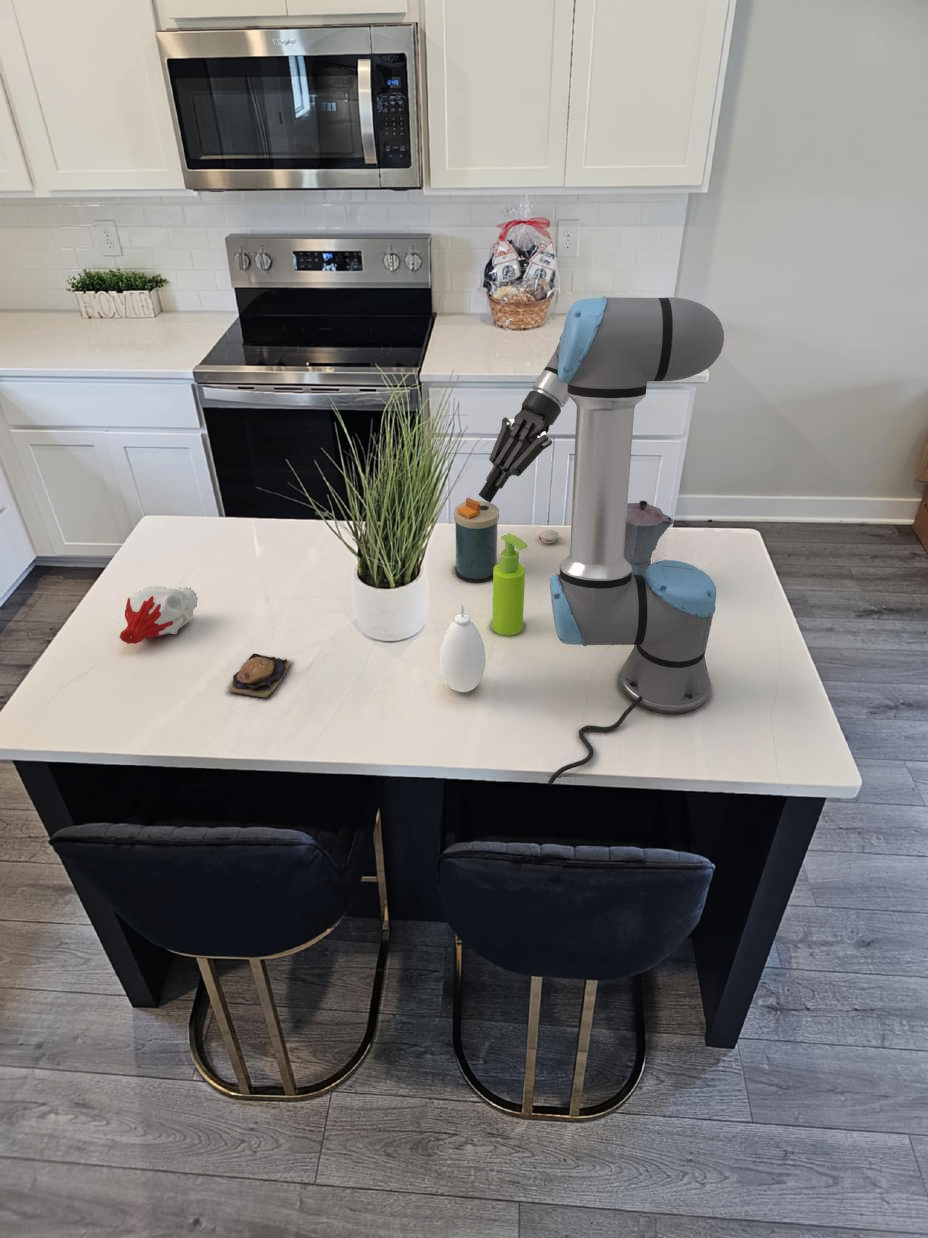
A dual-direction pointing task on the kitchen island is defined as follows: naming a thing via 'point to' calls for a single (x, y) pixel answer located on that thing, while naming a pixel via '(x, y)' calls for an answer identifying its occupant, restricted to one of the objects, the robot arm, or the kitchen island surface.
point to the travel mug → (476, 543)
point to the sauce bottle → (462, 654)
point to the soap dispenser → (509, 588)
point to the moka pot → (643, 534)
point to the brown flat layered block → (259, 676)
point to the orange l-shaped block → (470, 508)
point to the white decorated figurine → (157, 612)
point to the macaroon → (548, 536)
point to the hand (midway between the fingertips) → (484, 498)
